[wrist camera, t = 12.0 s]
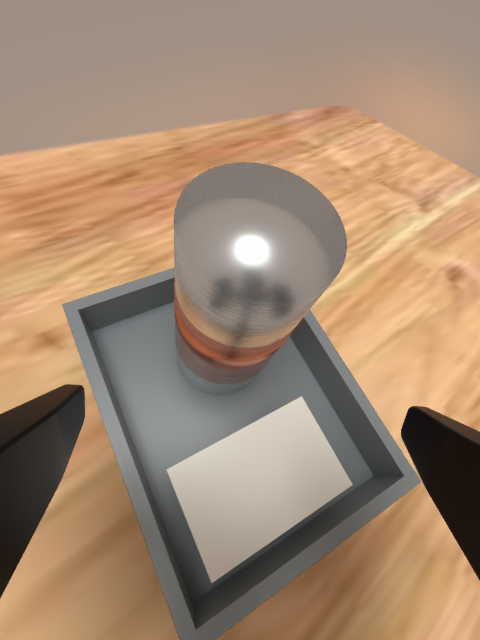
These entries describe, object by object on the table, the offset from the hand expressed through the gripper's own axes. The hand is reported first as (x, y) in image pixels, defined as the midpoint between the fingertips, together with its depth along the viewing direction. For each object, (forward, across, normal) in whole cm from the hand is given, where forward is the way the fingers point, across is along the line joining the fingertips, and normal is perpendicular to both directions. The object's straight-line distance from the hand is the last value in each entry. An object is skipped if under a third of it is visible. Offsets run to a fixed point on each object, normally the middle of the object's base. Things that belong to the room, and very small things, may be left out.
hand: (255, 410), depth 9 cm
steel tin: (+13, 0, +4) cm, 14 cm away
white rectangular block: (+8, -2, +10) cm, 13 cm away
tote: (+11, -1, +7) cm, 14 cm away
